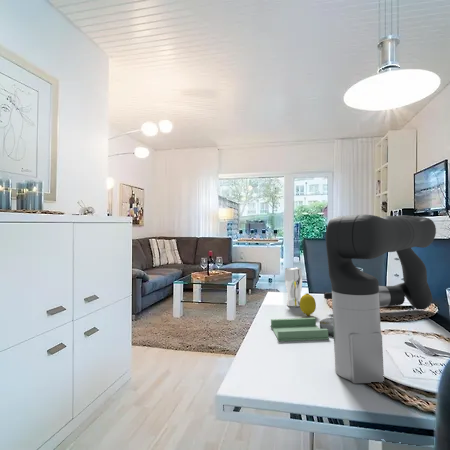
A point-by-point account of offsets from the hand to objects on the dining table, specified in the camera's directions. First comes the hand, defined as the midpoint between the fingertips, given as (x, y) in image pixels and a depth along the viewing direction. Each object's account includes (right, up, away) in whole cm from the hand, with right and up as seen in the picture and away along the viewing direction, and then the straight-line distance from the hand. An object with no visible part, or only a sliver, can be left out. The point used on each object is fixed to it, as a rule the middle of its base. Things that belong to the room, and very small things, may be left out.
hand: (329, 298), depth 108 cm
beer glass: (-9, -7, +15) cm, 19 cm away
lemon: (-8, -6, -1) cm, 10 cm away
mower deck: (-2, -5, -17) cm, 18 cm away
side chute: (-15, -6, -18) cm, 24 cm away
